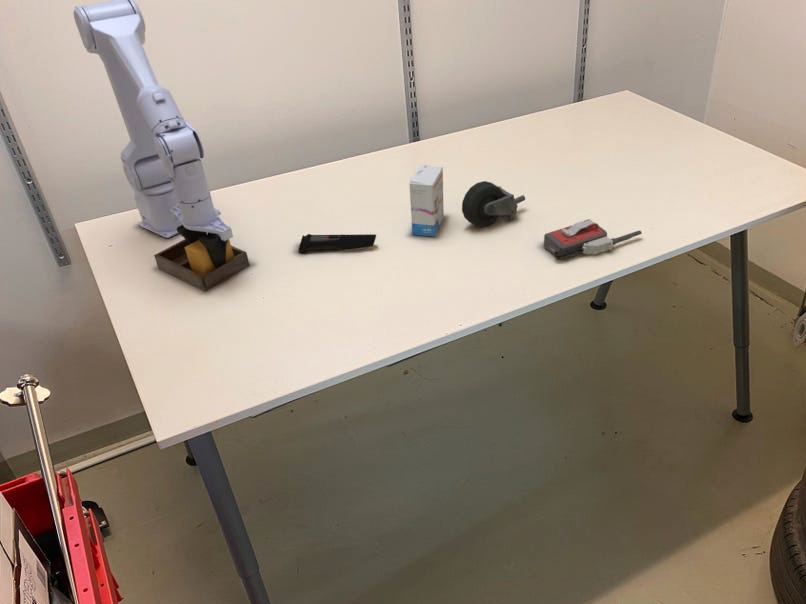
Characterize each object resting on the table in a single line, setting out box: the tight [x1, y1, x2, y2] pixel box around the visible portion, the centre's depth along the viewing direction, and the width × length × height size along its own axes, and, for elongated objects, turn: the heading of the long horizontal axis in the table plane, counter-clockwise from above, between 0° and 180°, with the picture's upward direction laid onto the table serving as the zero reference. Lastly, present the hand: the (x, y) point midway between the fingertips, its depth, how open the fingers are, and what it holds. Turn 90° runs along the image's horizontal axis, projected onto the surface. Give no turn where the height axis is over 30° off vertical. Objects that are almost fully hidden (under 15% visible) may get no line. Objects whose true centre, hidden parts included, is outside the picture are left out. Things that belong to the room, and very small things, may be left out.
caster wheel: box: [461, 180, 526, 228], centre depth 149 cm, size 6×10×15 cm
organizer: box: [153, 238, 250, 292], centre depth 138 cm, size 14×11×3 cm
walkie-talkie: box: [543, 218, 642, 260], centre depth 143 cm, size 9×4×20 cm
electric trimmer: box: [297, 233, 377, 253], centre depth 143 cm, size 4×16×3 cm, turn 92°
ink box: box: [409, 164, 445, 238], centre depth 147 cm, size 9×5×12 cm, turn 168°
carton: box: [185, 239, 234, 276], centre depth 136 cm, size 4×7×6 cm, turn 145°
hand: (212, 261), depth 136 cm, fingers closed on carton, 4 cm apart
